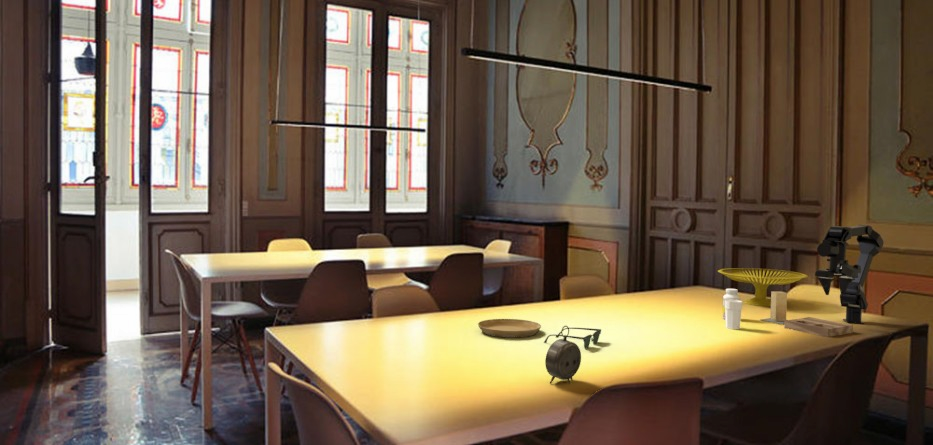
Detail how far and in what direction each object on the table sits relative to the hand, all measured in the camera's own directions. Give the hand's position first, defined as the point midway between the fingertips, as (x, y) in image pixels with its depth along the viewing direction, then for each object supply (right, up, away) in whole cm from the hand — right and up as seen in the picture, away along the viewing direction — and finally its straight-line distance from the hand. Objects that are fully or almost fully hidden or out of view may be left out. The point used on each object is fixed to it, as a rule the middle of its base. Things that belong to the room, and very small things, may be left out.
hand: (835, 294), depth 274 cm
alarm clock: (-123, -16, -84) cm, 150 cm away
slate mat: (-20, -12, +8) cm, 24 cm away
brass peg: (-20, -12, +8) cm, 24 cm away
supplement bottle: (-38, -12, +12) cm, 41 cm away
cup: (-45, -13, -7) cm, 47 cm away
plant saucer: (-135, -13, -18) cm, 137 cm away
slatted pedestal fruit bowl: (-7, -10, +53) cm, 54 cm away
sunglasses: (-113, -14, -35) cm, 120 cm away
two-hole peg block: (-12, -13, -9) cm, 20 cm away
